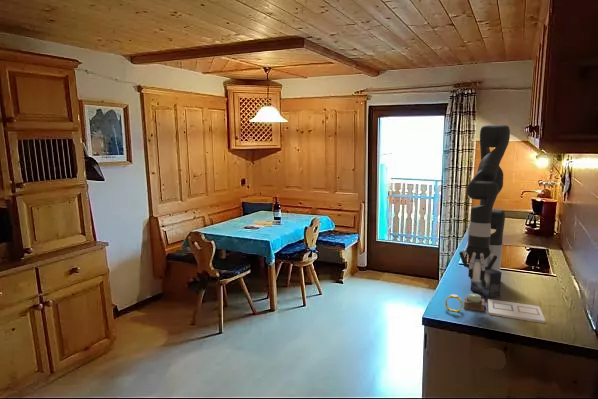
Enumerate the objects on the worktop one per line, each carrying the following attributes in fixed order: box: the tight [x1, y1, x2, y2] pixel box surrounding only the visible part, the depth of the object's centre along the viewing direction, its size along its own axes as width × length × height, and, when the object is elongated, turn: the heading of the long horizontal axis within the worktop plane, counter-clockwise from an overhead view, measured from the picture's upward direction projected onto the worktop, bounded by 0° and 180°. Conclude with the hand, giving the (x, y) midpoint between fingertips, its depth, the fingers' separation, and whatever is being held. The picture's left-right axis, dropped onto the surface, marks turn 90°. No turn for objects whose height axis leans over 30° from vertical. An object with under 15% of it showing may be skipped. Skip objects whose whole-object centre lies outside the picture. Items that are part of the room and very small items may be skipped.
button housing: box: [463, 295, 486, 312], centre depth 160 cm, size 7×7×2 cm
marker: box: [472, 259, 481, 283], centre depth 159 cm, size 3×3×9 cm
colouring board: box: [487, 298, 547, 324], centre depth 157 cm, size 16×18×1 cm
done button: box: [467, 293, 482, 303], centre depth 160 cm, size 4×4×3 cm
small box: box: [470, 267, 503, 299], centre depth 177 cm, size 11×6×10 cm, turn 21°
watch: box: [444, 293, 464, 313], centre depth 155 cm, size 6×3×6 cm, turn 60°
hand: (476, 278), depth 159 cm, fingers closed on marker, 3 cm apart
